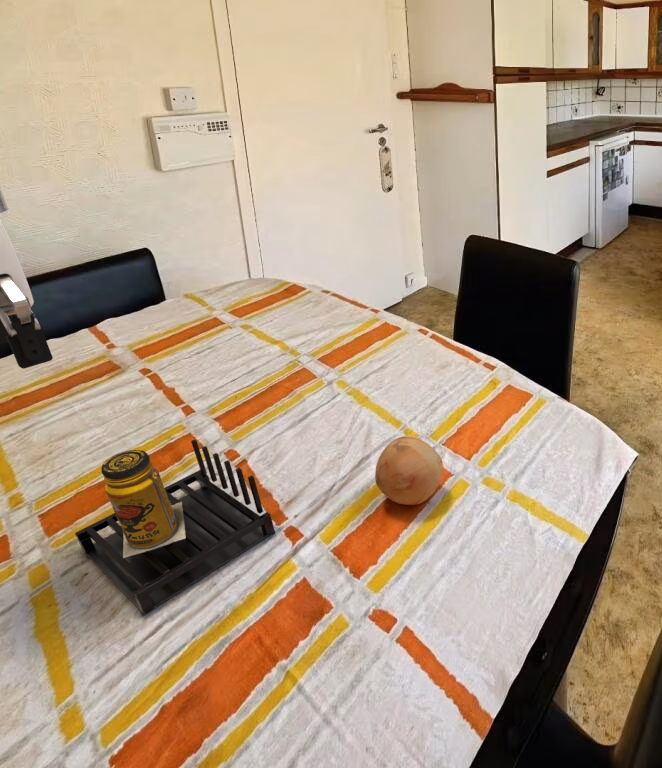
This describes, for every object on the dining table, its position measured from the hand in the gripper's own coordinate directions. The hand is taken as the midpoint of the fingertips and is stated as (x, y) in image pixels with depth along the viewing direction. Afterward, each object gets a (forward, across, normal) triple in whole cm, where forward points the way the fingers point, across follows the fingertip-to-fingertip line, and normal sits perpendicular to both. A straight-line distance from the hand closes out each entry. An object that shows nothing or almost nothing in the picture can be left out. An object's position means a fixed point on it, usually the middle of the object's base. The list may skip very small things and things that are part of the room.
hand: (22, 352), depth 73 cm
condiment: (+26, +9, +5) cm, 27 cm away
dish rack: (+29, +9, +7) cm, 31 cm away
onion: (+28, +28, +33) cm, 52 cm away
